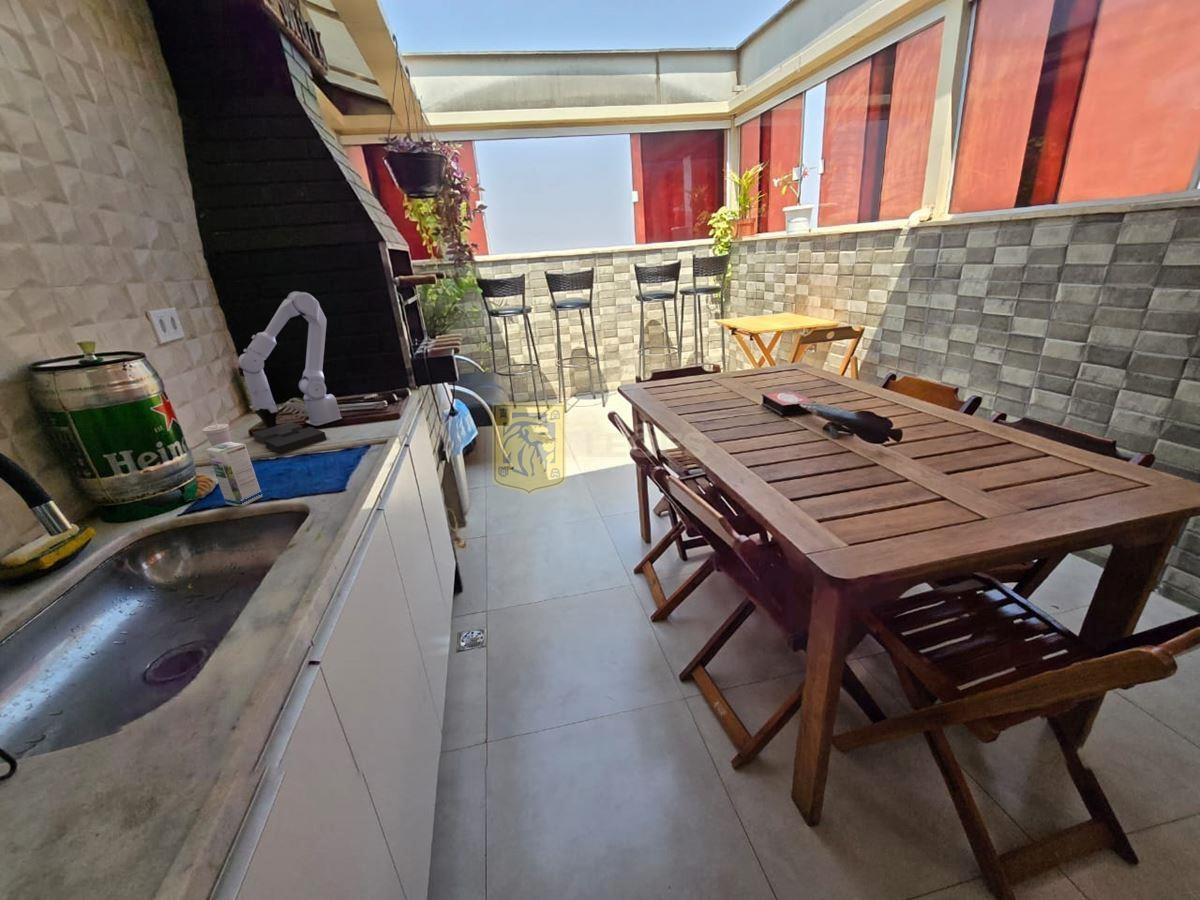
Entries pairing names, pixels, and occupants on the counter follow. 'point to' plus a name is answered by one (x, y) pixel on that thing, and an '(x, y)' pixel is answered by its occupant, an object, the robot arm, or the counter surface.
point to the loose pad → (277, 431)
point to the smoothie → (217, 433)
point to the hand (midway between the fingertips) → (272, 429)
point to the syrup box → (234, 472)
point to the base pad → (295, 440)
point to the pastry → (204, 486)
